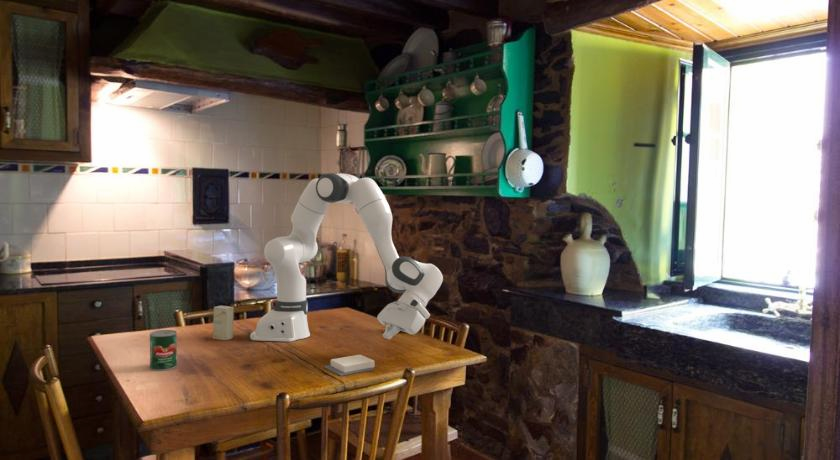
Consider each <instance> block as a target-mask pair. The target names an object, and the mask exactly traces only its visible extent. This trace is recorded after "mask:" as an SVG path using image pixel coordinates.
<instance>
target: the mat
mask: <svg viewBox="0 0 840 460" xmlns="http://www.w3.org/2000/svg"><path fill="white" fill-rule="evenodd" d="M323 367H324V369H326V370H328V371H330V372H332V373H334V374H336V375H338V376H340V377H342V376H348V374H349V375H353V373H355V374H359V372H360V373H364V372H365V373H366V372H370V371H374V370H375V367H372V368H367V369H362V370H357V371H351V372H346V373H344V372H342V371H340V370H338V369H336V368H334V367H332V366H331V364H328V365H324V366H323Z"/></svg>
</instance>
